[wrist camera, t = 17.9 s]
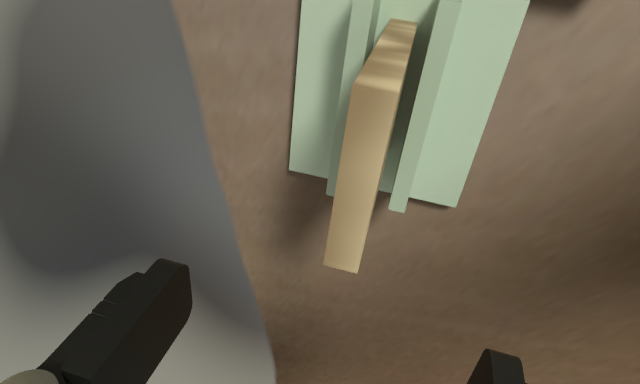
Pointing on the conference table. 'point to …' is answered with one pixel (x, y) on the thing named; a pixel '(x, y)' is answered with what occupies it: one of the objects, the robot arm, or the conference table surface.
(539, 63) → the conference table surface
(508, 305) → the conference table surface
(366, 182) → the wooden board
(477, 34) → the stand
